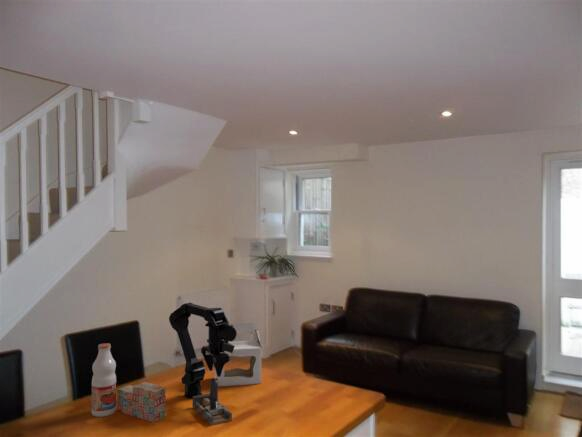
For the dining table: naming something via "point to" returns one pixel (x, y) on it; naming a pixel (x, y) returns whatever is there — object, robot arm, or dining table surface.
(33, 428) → the dining table surface
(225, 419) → the press base
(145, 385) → the stack of blocks
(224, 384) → the gable box
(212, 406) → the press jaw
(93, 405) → the fruit juice
